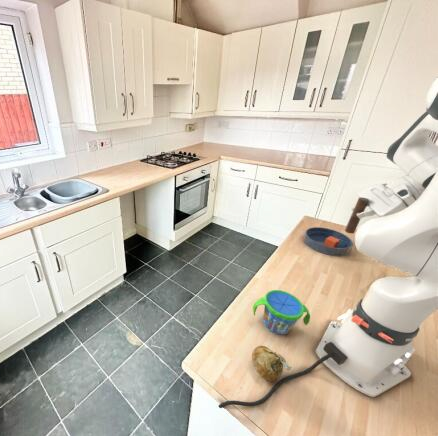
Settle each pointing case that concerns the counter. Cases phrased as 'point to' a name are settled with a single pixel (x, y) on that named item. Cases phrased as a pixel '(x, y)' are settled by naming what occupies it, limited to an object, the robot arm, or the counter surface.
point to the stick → (354, 218)
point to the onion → (268, 363)
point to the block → (331, 242)
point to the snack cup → (281, 311)
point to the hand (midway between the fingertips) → (355, 213)
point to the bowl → (318, 236)
